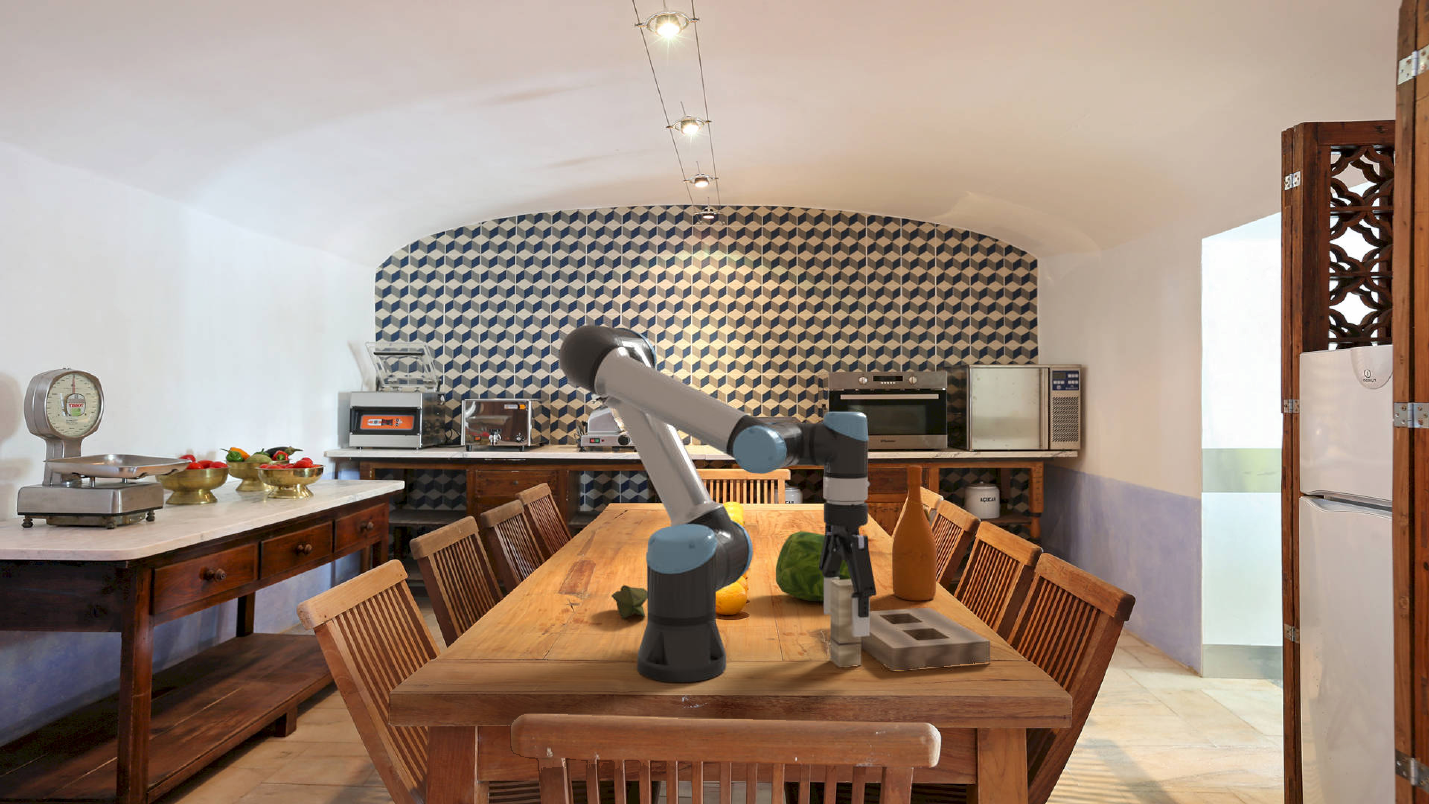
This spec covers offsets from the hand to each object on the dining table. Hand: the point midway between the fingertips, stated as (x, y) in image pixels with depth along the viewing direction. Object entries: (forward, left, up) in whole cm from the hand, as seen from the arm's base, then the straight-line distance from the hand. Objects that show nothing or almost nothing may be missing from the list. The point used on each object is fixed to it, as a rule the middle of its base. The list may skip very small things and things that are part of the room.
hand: (845, 624), depth 142 cm
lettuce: (+11, +41, -7) cm, 43 cm away
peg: (0, 0, -7) cm, 7 cm away
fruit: (-33, +37, -7) cm, 50 cm away
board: (+15, +5, -7) cm, 17 cm away
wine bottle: (+32, +39, -7) cm, 51 cm away
